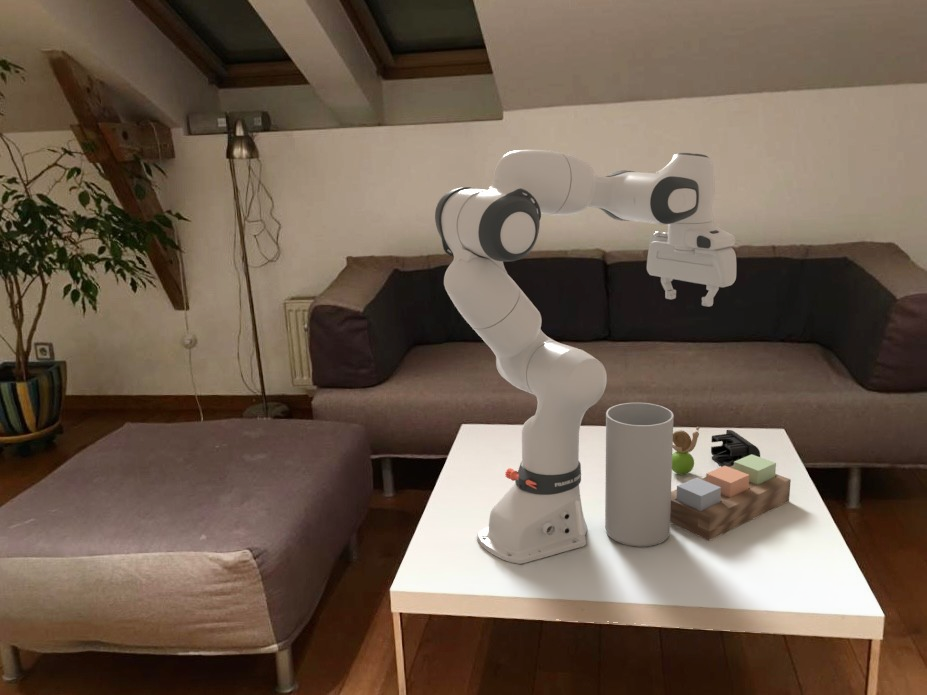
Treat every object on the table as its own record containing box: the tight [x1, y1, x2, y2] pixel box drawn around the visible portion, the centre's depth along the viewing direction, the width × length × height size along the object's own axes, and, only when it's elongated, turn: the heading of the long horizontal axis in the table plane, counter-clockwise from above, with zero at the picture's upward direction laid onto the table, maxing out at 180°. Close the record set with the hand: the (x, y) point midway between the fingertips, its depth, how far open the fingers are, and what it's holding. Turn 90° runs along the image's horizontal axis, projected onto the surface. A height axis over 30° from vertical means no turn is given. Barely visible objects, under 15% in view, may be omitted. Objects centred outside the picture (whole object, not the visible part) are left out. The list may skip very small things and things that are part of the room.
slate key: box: [676, 477, 721, 511], centre depth 165 cm, size 6×6×4 cm
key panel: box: [670, 465, 792, 542], centre depth 171 cm, size 26×12×5 cm, turn 125°
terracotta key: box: [705, 466, 749, 498], centre depth 170 cm, size 6×6×4 cm
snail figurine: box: [672, 426, 700, 476], centre depth 187 cm, size 5×6×12 cm
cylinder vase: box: [604, 402, 675, 548], centre depth 161 cm, size 12×12×25 cm
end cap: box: [710, 429, 761, 467], centre depth 192 cm, size 10×7×7 cm
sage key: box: [734, 454, 777, 485], centre depth 175 cm, size 6×6×4 cm
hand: (688, 302), depth 170 cm, fingers open, 8 cm apart
